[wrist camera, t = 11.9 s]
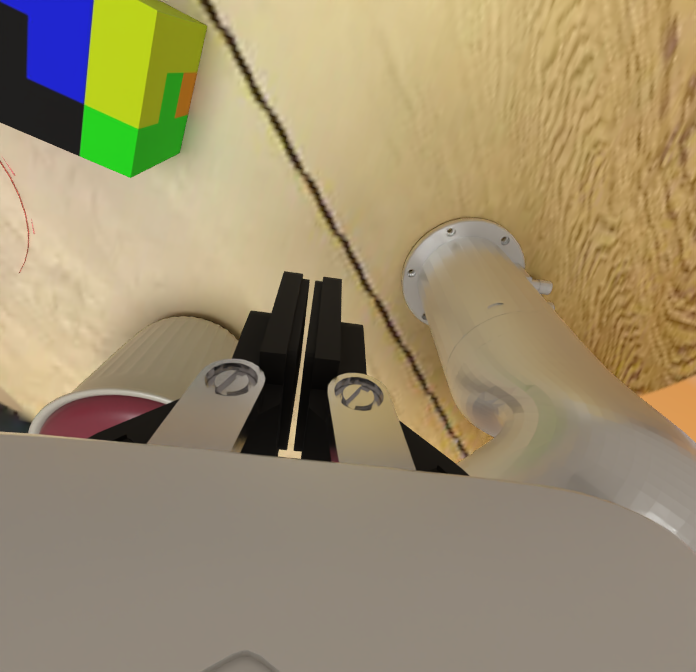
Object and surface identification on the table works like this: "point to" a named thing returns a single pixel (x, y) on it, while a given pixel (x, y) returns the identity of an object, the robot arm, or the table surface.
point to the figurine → (22, 206)
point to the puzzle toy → (100, 77)
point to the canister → (138, 377)
